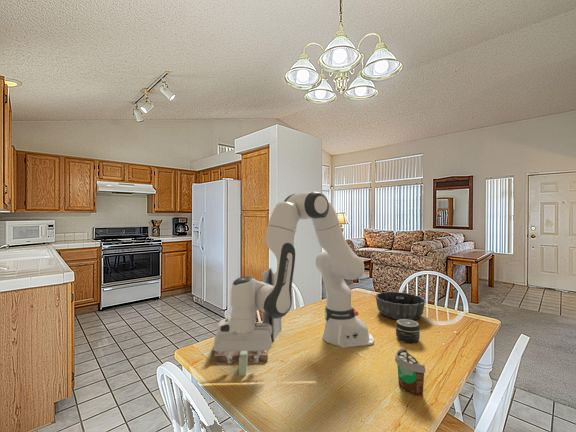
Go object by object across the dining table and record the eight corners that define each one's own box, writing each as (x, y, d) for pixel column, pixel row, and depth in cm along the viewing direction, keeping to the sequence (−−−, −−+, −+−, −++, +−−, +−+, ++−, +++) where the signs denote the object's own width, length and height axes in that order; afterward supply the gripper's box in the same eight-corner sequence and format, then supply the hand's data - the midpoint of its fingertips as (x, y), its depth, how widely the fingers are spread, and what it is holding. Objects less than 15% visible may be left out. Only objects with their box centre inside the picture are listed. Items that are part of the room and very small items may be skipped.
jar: (423, 339, 130) (423, 322, 130) (415, 346, 122) (415, 328, 122) (400, 333, 137) (401, 316, 136) (392, 339, 129) (392, 322, 129)
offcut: (266, 347, 120) (266, 342, 120) (265, 357, 112) (265, 351, 112) (255, 348, 120) (255, 342, 120) (254, 357, 112) (254, 352, 112)
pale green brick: (247, 367, 106) (247, 350, 105) (245, 376, 100) (245, 358, 99) (241, 367, 105) (241, 350, 105) (238, 377, 99) (238, 358, 99)
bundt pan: (383, 304, 179) (383, 288, 179) (430, 313, 164) (430, 295, 164) (368, 317, 158) (368, 298, 158) (420, 328, 142) (420, 308, 142)
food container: (388, 376, 100) (388, 348, 100) (405, 376, 100) (405, 347, 100) (406, 399, 87) (406, 367, 87) (425, 398, 88) (425, 366, 88)
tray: (268, 345, 123) (268, 334, 123) (267, 362, 109) (267, 349, 109) (218, 346, 122) (218, 335, 122) (211, 364, 108) (211, 350, 108)
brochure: (274, 342, 126) (274, 274, 126) (262, 341, 127) (262, 273, 127) (281, 329, 140) (281, 268, 140) (270, 328, 141) (270, 267, 141)
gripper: (272, 319, 106) (272, 357, 106) (216, 320, 105) (216, 358, 105) (272, 326, 100) (272, 366, 100) (212, 327, 99) (212, 367, 99)
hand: (243, 362), depth 102 cm, fingers open, 8 cm apart
